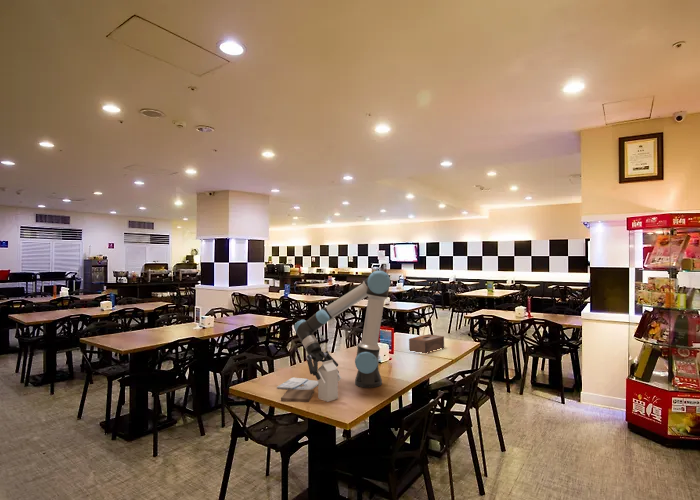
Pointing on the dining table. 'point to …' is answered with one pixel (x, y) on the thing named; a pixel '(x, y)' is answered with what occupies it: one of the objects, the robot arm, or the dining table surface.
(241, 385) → the dining table surface
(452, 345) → the dining table surface
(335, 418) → the dining table surface
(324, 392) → the milk carton
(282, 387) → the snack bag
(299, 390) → the walnut board
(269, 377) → the dining table surface
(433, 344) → the tissue box cover
